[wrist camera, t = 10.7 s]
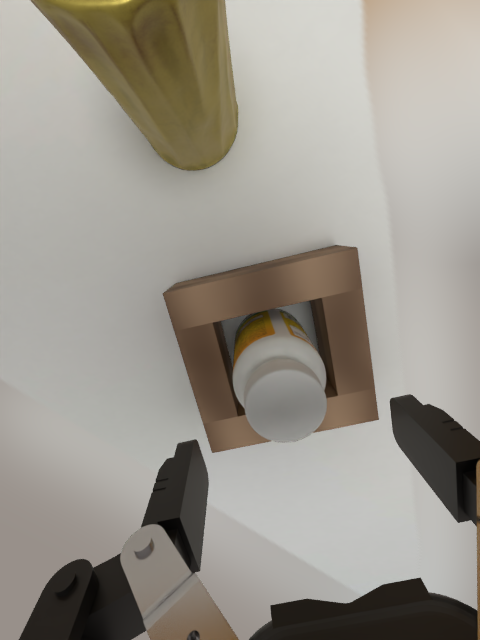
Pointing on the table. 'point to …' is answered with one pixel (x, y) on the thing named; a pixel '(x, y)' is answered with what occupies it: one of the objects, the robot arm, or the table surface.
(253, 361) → the supplement bottle
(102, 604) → the robot arm
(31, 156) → the table surface
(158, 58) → the vase
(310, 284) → the socket block
